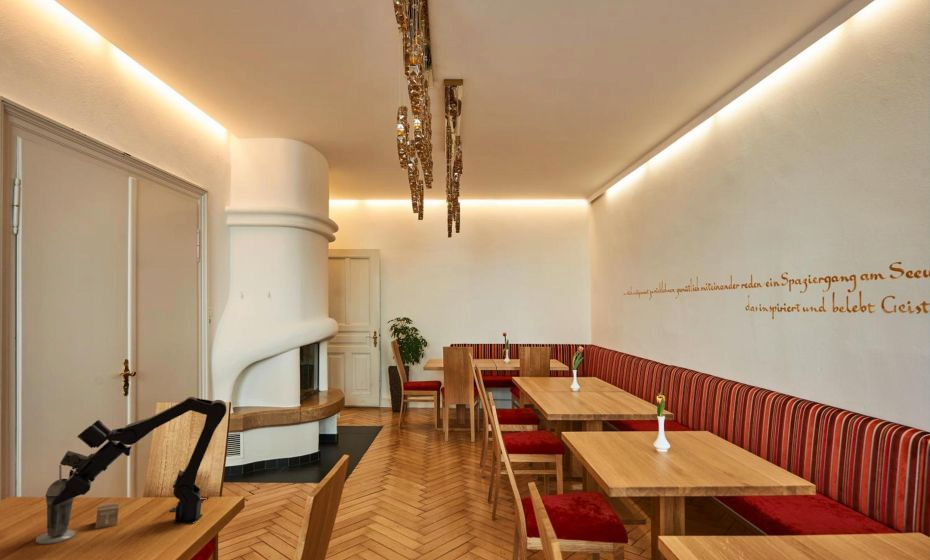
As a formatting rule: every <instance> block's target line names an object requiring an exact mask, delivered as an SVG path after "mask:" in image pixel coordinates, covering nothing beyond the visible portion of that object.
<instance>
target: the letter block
mask: <svg viewBox="0 0 930 560" xmlns="http://www.w3.org/2000/svg"><path fill="white" fill-rule="evenodd" d="M119 504H120V502H119V501H116V502H109V503H103V504H98V505H97V510H96V521H95V528H96V529H101V528H100V527H102V528H108V527H113V526H114V525H115V526H117V525H118V516H119ZM107 526H108V527H107ZM115 526H114V527H115Z"/></svg>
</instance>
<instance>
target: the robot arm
mask: <svg viewBox="0 0 930 560" xmlns="http://www.w3.org/2000/svg"><path fill="white" fill-rule="evenodd" d="M190 411H192V412H195V413H198V414H202V415H205V421H204V424H203V428H202V431H201V432H200V435H199V437H198V439H197V442H196V444H195V447H194V449H193V450H192V451H193V452H192V454H191V456H190V459H189V461H188V463H187V465H186V466H185V468H184V469H183V470H181V469H179V470H178V473H177V476H176V479H174V481H173V484H172V488H173V496H174V497H175V498H176V499H177V500H178V502H177V505H178V506H177V505H175V507H176V512H175V517H174V521H173V523H174V524H194V523H193V522H195V521H196V520H197V519H198V520H199V518H200V517H201V516H202V517H203V514H201V511H202V510H201V509H202V504H201V501H202V499H200V496H201V493H202V492H201V488H200V487H199V486H197V485H196V480H197V476H198V473H199V469H200V467H201V464H202V462H203V459H204V457H205V455H206V452H207V450H208V447H209V445H210V442H211V440H212V438H213V435H214V433H215V431H216V429H217V428H218V426H220V424H221V422H222V421H223V419H224V417H225V416H226V414H227V404H226V402H225V401H223V400H221V399H215V400H210V399H205V398H204V399H203V398H198V397H196V396H195V397H194V396H188V397H187V398H186V399H184V400H182V401H179V403H177V404H174V405H171V406H170V407H168V408H166V409H165V410H163V411H161V412H159V413H156V414H154V415H152V416H150V417H147V418H144V419H141V420H136V421H135V422H132V423H128V424H126V425H125V426H124V427H121V428H120V427H119V428H115V429H112V430H110V429H109V428H108V427H107V426H106V425H105V424H104V423H103V422H102V421H101V420H100V419H97V420H96V421H95V422H93V423H92V424H91V425H89V426H88V427H86V428H85V429H84V430H83V431H82V432H80V434H78V435H77V436H76V437H77V438H78V439H79V440H81V441H82V442H83V443H85V445H87V447H89V448H90V449H93V448H94V449H95V448H97V451H95V452H93V453H91V454H89V455H88V456H87V455H84V454H81V453H78V452H74V451H71V450H67V451H66V452H65V454H64V456H63V457H62V459H61V460H60V463H59V464H60V465H61V466H66V467H67V466H68V467H69V468H70V467H71V469H70V471H69V475H68V478H66V479H67V480H66V486H65V488H64V489H63V491H62V492H61V493H60V494H59V495H58V496H57V497H56V499H55V500H54V501H53V502H52V505H54V506H55V505H57V504H60V503H62V502H64V501H67V500H69V499H71V498H74V499H75V498H76V497H79V496H84V495H86V494H87V493H88V492H89V491H91V486H92V483H93V482H94V481H95V480H96V478H97V477H98V476H99V475H100V474H102V472H105V471H107V469H108V467H109V466H110V465H112V463H114V461H115V460H117V459H118V458H119V457H120V456H121V455H123V454H124V455H125V456H126V457H129V456H130V455H131V449H132V445H134V444H136V443H138V442H139V441H141V440H142V439H143V438H144V437H146V436H147V435H148V434H150V432H152V431H153V430H155V429H157V428H159V427H161V426H162V425H165V424H166V423H168V422H170V421H172V420H175V419H176V418H179V417H180V416H182V415H184V414H186V413H188V412H190ZM105 442H106V443H105ZM104 443H105V444H104ZM103 444H104V445H103ZM101 445H103V446H102V447H100V446H101ZM98 448H99V449H98ZM115 462H116V461H115ZM202 517H201V518H202ZM201 518H200V519H201ZM198 520H197V521H198ZM197 521H196V522H197ZM196 522H195V523H196Z"/></svg>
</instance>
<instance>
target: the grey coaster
mask: <svg viewBox="0 0 930 560" xmlns="http://www.w3.org/2000/svg"><path fill="white" fill-rule="evenodd" d="M75 535H76V531H75V530H74V529H70V528H69V529H68V528H67V532H66V533H64V534H62V535H58V536H48V531H47V532H45V533H42V534H40V535H38V536H37V537H36V538H35V543H36V544H37V545H53V544H52V543H54V544H59V543H62V542H66V541H69V540H70V539H72V538H73V537H74V536H75Z"/></svg>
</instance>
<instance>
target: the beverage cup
mask: <svg viewBox="0 0 930 560" xmlns="http://www.w3.org/2000/svg"><path fill="white" fill-rule="evenodd" d="M58 466H59V467H58V472H59V473H58V475H59V476H58V477H59V478H58V480H55V481H54V482H53V483H51V484H50V485H49V487H48V488H47V490H46V492H45V493H46V494H45V501H46V502H45V503H46V523H47V525H46V529H47V532H48V536H58V535H62V534H64V533H66V532H67V529H68V528H69V524H70V518H71V514H72V513H71V512H72V508H73V503H74V499H75V497H74V498H71V499H69V500H67V501H64V502H62V503H60V504H57V505H55V506H54V505H52V502H53V501H54V500H55V499H56V497H57V496H58V495H59V494H60V493H61V492H62V491H63V489H64V488H65V486H66V480H67V479H68V478H62V465H61V464H60V465H58Z"/></svg>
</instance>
